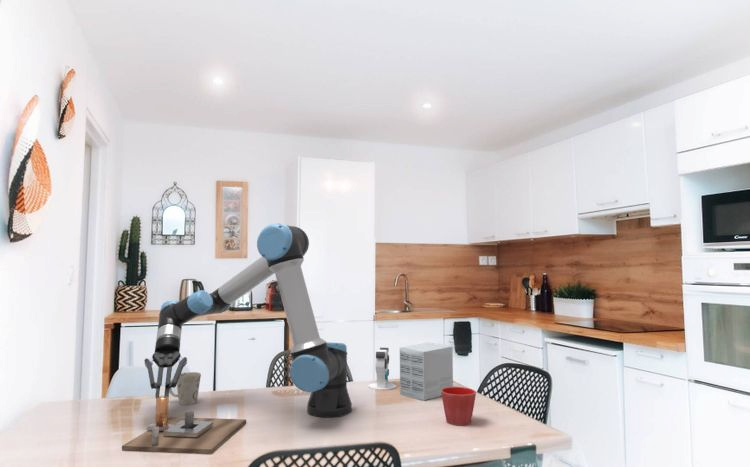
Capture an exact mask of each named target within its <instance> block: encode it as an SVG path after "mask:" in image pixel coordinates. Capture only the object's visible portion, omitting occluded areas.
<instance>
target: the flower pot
mask: <svg viewBox="0 0 750 467" xmlns="http://www.w3.org/2000/svg"><path fill="white" fill-rule="evenodd" d="M441 394H442V396H441V399H442V405H443V410H444V415H445V416H444V417H445V420H446V423H448V424H450V425H455V426H467V425H470V424H471V423H472V418H473V412H474V408H475V403H476V402H475V400H476V395H477V392H476V390H474V389H472V388H468V387H462V386H453V387H447V388H443V389H442V390H441Z"/></svg>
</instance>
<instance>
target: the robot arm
mask: <svg viewBox="0 0 750 467" xmlns="http://www.w3.org/2000/svg"><path fill="white" fill-rule="evenodd" d="M309 240H310V239H309V237H308V234H307V233H306V231H304V230H303V229H302V228H301V227H298V226H292V225H288V224H284V223H271V224H269V225H267V226H265V227H264V228H263V229H262V230H261V232H260V233H259V235H258V236H257V240H256V247H257V251H258V253H259V255H260V257H259V258H258V259H256V260H255V261H253V262H252V263H251V264H249V265H248V266H246V267H245V268H244V269H243V270H241V271H240V272H239V273H237V274H236V275H234V276H232V277H231V278H230V279H229V280H227V281H225V283H223V284H222V285H221V286H219V287H218V288H216V289H215V290H213V291H212V292H210V293H209V292H208V291H205V290H203V289H201V290H200V289H199V290H198V291H196V292H195V291H194V292H193V293H191V294H189V295H188V296H186V297H185V298H183V299H181V300H175V299H173V300H167V301H165V302H163V303H162V305H161V307H160V311H159V313H158V317H159V318H158V324H157V333H156V340H155V345H154V353H153V354H152V355H151V357H150V358H147V357H146V358H145V359H144V366H145V368H146V369H147V371H148V372H147V373H148V378H149V383H150V388H151V390H153V389H155V399H156V398H157V397H159V396H170V393H169V390H170V388H171V389H173V388H174V389H175V388H177V382H178V380H179V377H180V375H181V373H183V369H184V367H186V365H187V364H188V357H186V356H185V357H183V356H181V353H180V350H181V339H182V330H183V328H182V327H183V325H184V324H186V323H187V322H190V321H192V320H194V319H195V318H197V317H203V316H208V315H214V314H215V315H216V314H222V313H224V312H226V311H228V310H229V309H230V307H231V305H232V304H233V303H235V302H236V301H237V300H240V298H242V297H244V296H245V295H246V294H247V293H249V292H250V291H252V290H253V289H254V288H256V287H258V285H260V284H261V283H263V282H264V281H266V280H267V279H269V278H271V276H273V275H274V274H275V278H276V279H275V280H276V282H277V286H278V289H279V294H280V298H281V302H282V306H283V310H284V313H285V317H286V321H287V324H288V328H289V332H290V336H291V340H292V344H293V346H292V348H291V350H290V356H291V357H290V358H291V360H292V362H291V364H290V367H289V377H290V381H291V382H292V384H293V385H294V386H295V387H296V388H297V389H299V390H300V391H302V392H305V393H310V395H309V398H308V402H307V405H306V412H307V414H309V415H311V416H314V417H318V418H336V417H338V418H339V417H342V416H346V415H348V414H350V413H351V412H352V410H353V407H352V405H353V403H352V400H351V397H350V394H349V391H348V388H347V382H348V381H347V379H348V376H347V373H348V371H347V370H348V366H347V364H348V361H347V360H348V350H347V349H348V348H347V345H346V344H345V343H343V342H328V341H326V340H324V339H323V338H321V337H320V333H319V329H318V326H317V323H316V318H315V315H314V311H313V308H312V303H311V299H310V295H309V292H308V287H307V284H306V281H305V278H304V273H303V269H302V264H303V262H304V261H305V259H304V256H305V255H306V254H307V252H308V250H309V245H310V241H309ZM177 363H178V365H177V368H176V369H175V372H174V376H173V378H172V371H173V367H174V366H175V365H176V364H177ZM154 364H155V365H156V366H157V367H158V370H157V376H156V378H157V379H156V382H155V377H154V376H155V375H154V371H153V365H154ZM164 368H166V375H165V382H164V383H165V384H164V385H163V384H162V383H163V375H164ZM172 379H173V380H172ZM171 380H172V382H170V381H171Z"/></svg>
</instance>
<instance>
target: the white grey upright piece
mask: <svg viewBox="0 0 750 467" xmlns="http://www.w3.org/2000/svg"><path fill="white" fill-rule="evenodd" d="M389 350H390V348H389V347H379V349H378V350H376V352H375V373H376V382H372V383H369V384H368V388H369V389H372V390H375V391H376V390H377V391H390V390H394V389H395V388H397V385H396V384H395V383H392V382H389V375H390V369H389V364H390V354H389Z"/></svg>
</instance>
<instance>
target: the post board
mask: <svg viewBox="0 0 750 467" xmlns="http://www.w3.org/2000/svg"><path fill="white" fill-rule="evenodd" d="M194 415H195V412H194V411H190V410H189V411H186V412H184V417H183V416H182V417H181V416H180V417H179V416H177V417H176V416H175V417H174V416H170V417H168V424H177V423H178V422H180V421H182V420H185V429H193V428H194V421H211V422H213V426H212V427H211V428H209V429H208V430H206V431H205V432H204V433H202V434H201V435H200V436H198V437H178V436H163V432H164V431H159V427H153V428H152V430H146V431H145V432H143V433H141V434H139V435H137V436H135V437H134V438H133V439H131V440H130V441H127V442H126V443H124V444H123V445H121V451H124V452H125V451H126V452H128V451H129V452H151V453H175V454H176V453H177V454H179V453H180V454H195V455H196V454H200V455H212V454H213V453H214V452H216V451H217V450H218V449H219V448H220V447H221V446H223V445H224V444H225V442H227V441H228V440H230V439H231V437H232V436H234V435H235V434H236V433H237V432H239V431H240V429H242V428H243V427H244V426H245V425H246V424H247V419H244V418H243V419H241V418H239V419H238V418H210V417H195V416H194Z"/></svg>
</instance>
